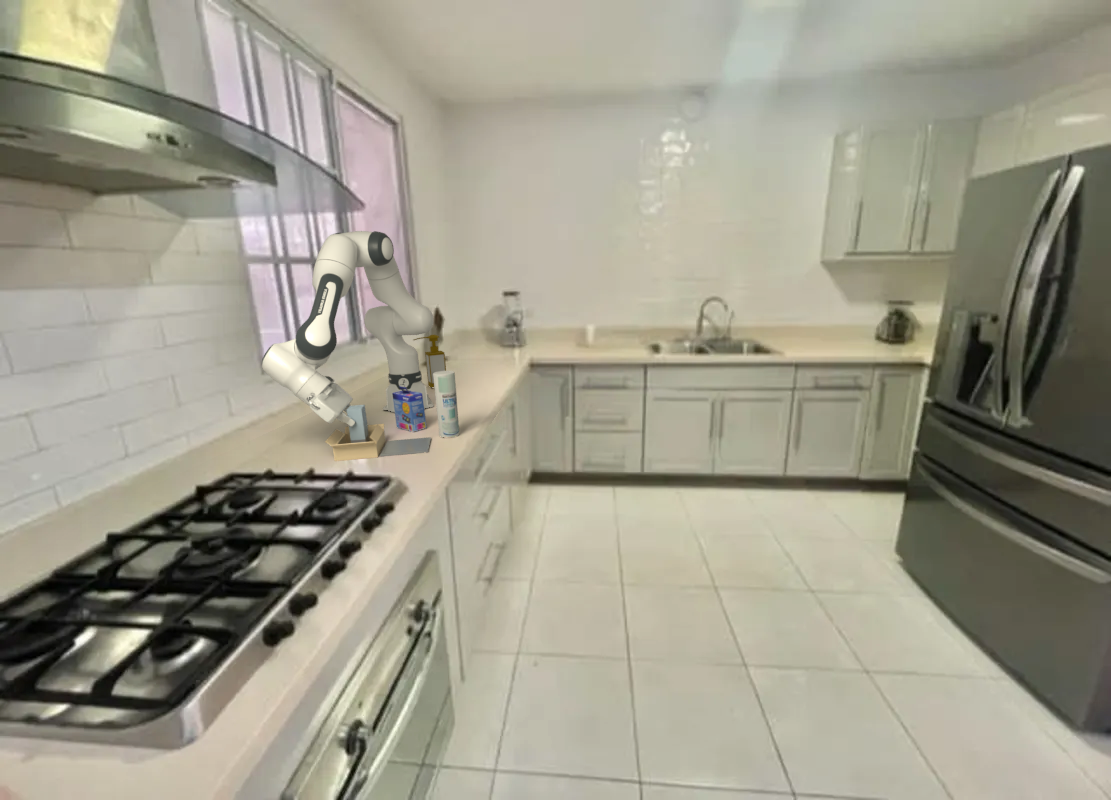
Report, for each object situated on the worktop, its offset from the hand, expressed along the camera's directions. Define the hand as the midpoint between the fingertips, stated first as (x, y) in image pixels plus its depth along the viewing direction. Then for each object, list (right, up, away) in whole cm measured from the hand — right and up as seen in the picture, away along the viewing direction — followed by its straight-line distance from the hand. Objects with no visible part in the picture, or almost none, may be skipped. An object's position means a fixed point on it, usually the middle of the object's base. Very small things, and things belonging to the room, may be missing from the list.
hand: (356, 421), depth 156 cm
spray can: (+24, -5, +14) cm, 28 cm away
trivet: (+14, -8, +4) cm, 16 cm away
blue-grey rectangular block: (+1, -8, +2) cm, 8 cm away
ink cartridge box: (+9, -4, +24) cm, 26 cm away
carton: (+1, -9, +2) cm, 9 cm away
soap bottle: (+1, +12, +91) cm, 91 cm away
